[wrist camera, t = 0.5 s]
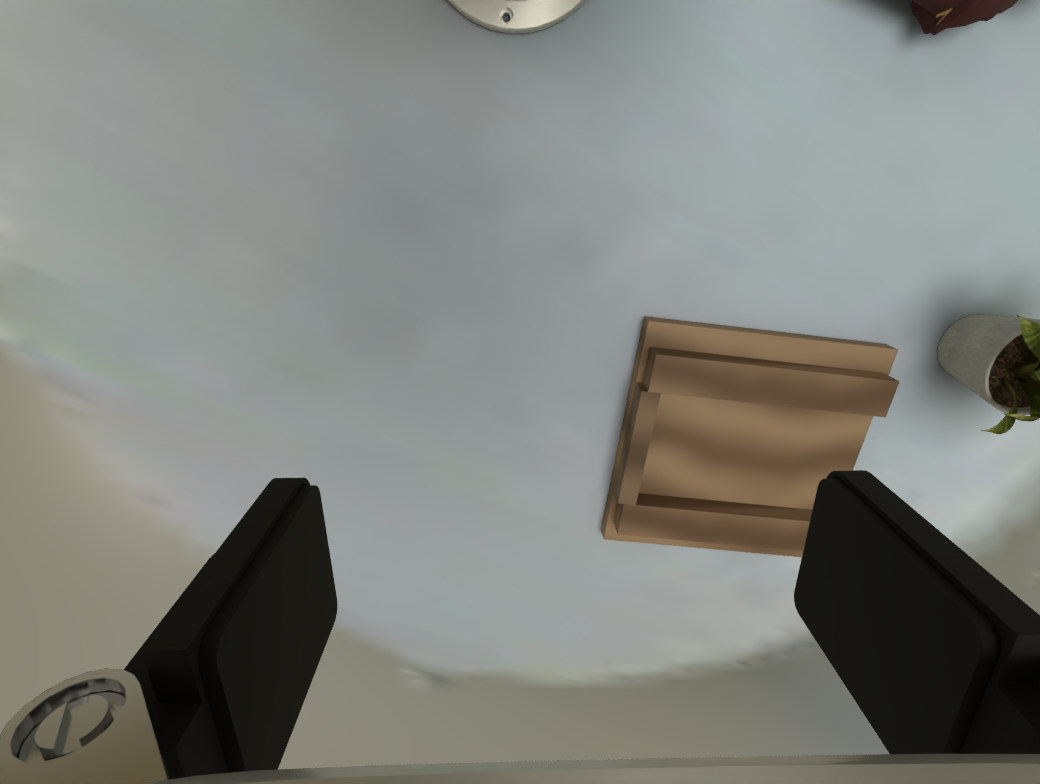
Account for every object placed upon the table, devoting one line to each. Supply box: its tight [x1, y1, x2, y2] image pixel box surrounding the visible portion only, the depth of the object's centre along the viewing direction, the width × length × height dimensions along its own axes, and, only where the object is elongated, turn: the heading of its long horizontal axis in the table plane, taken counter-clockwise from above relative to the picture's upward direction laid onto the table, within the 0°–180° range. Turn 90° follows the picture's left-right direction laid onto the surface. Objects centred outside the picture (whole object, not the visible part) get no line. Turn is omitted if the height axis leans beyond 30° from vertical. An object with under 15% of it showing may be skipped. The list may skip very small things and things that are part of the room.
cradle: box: [601, 317, 899, 557], centre depth 47 cm, size 20×20×4 cm
